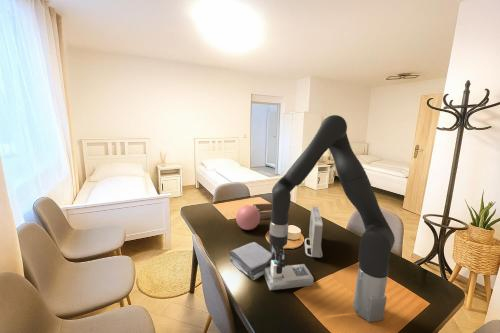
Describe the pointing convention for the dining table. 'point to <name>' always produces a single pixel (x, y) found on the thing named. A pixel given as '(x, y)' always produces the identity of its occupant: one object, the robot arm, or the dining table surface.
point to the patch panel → (289, 277)
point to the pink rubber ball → (248, 217)
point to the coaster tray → (264, 207)
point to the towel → (251, 259)
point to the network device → (315, 233)
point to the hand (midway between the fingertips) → (276, 267)
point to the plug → (273, 270)
